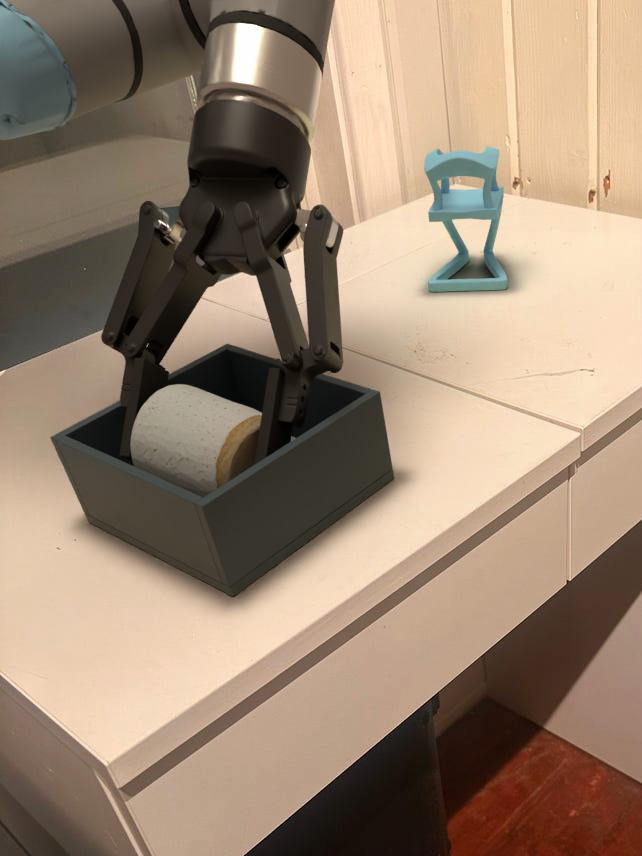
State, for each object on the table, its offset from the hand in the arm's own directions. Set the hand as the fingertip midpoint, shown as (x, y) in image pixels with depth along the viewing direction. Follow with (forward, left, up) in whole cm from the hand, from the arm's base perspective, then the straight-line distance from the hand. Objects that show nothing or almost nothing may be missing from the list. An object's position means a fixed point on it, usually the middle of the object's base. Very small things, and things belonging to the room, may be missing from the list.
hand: (201, 468), depth 59 cm
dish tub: (-1, +3, -5) cm, 6 cm away
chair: (-11, +43, -5) cm, 45 cm away
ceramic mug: (-1, +3, -4) cm, 5 cm away
